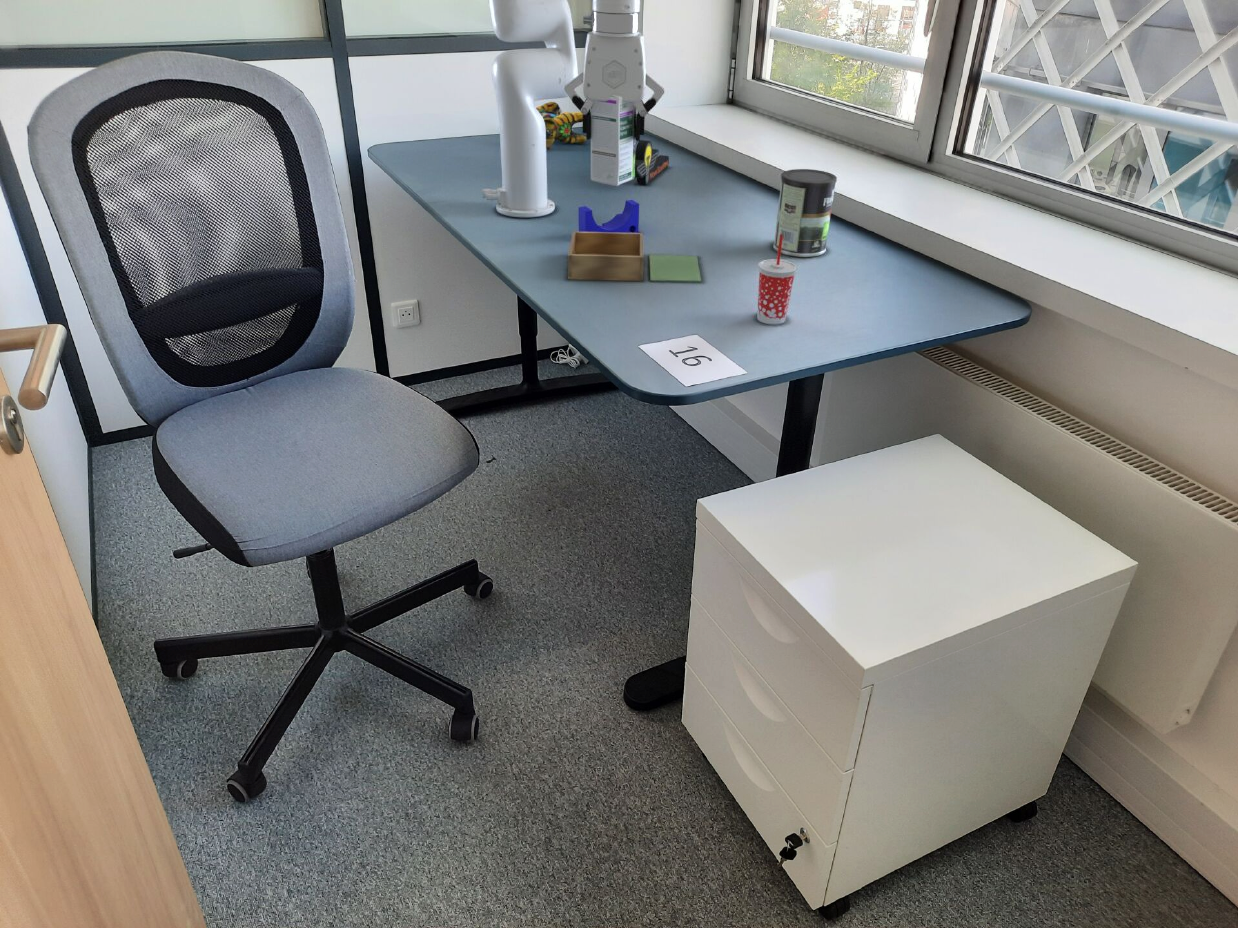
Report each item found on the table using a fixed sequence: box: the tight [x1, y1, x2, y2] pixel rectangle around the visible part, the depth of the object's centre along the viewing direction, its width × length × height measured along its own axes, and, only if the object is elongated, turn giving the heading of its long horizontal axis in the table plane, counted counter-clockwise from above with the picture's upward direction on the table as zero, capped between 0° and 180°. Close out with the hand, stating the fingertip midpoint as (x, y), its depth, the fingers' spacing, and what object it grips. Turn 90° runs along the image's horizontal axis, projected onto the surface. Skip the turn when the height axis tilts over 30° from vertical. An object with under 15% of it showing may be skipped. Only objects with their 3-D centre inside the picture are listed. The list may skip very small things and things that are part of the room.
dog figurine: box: [535, 101, 588, 151], centre depth 240 cm, size 20×12×18 cm
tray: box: [567, 230, 644, 282], centre depth 160 cm, size 13×13×4 cm
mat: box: [649, 254, 702, 283], centre depth 162 cm, size 9×13×1 cm
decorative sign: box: [635, 139, 670, 186], centre depth 210 cm, size 27×2×10 cm, turn 161°
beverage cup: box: [756, 234, 798, 325], centre depth 139 cm, size 6×6×14 cm
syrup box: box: [590, 95, 637, 187], centre depth 150 cm, size 6×6×14 cm
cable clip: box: [578, 199, 640, 233], centre depth 176 cm, size 12×4×6 cm, turn 118°
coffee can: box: [773, 168, 838, 258], centre depth 169 cm, size 10×10×14 cm
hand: (613, 138), depth 150 cm, fingers closed on syrup box, 7 cm apart
